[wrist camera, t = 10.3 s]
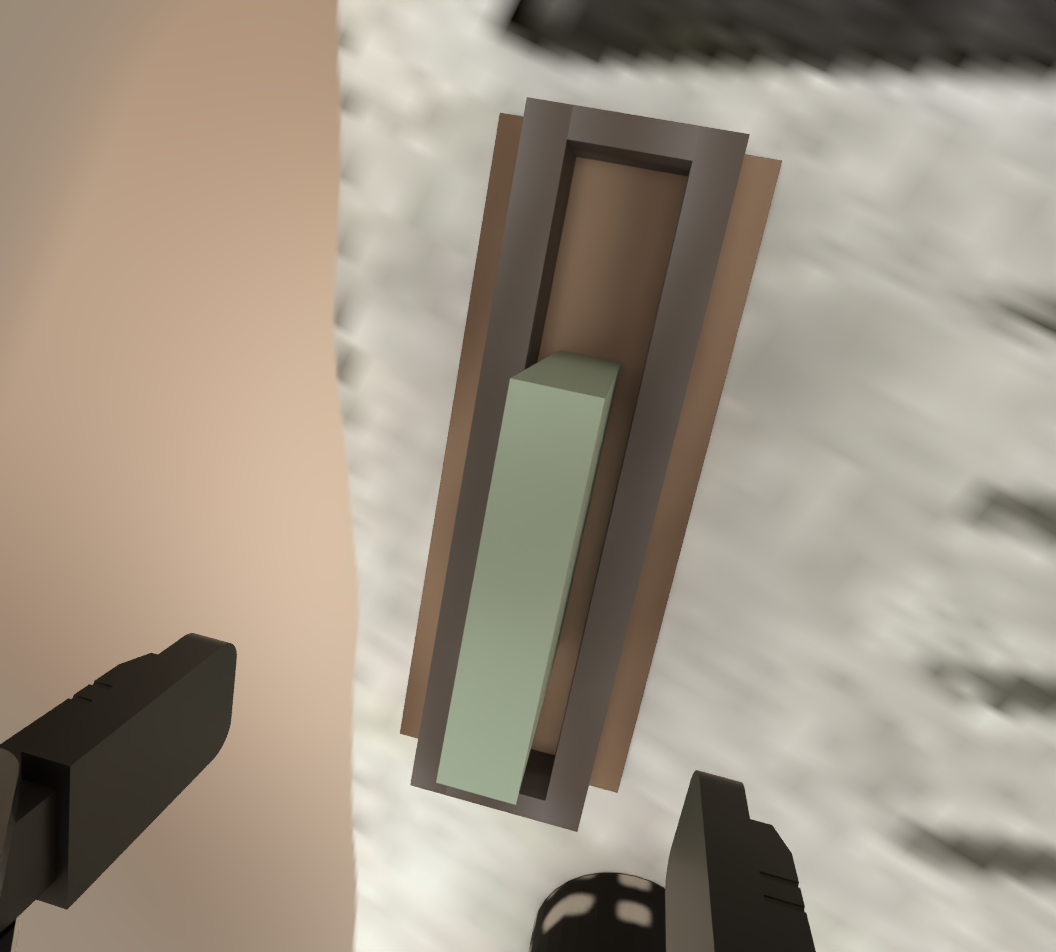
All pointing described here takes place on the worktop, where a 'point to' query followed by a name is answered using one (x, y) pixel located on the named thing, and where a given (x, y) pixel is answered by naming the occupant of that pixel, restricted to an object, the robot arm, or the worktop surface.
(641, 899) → the spotted tube
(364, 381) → the worktop surface
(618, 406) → the door track
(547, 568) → the door panel
